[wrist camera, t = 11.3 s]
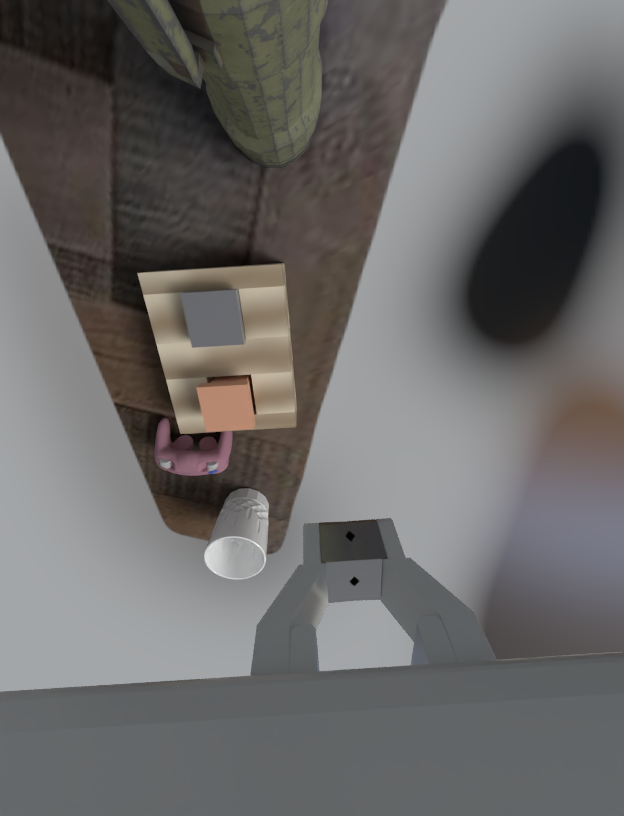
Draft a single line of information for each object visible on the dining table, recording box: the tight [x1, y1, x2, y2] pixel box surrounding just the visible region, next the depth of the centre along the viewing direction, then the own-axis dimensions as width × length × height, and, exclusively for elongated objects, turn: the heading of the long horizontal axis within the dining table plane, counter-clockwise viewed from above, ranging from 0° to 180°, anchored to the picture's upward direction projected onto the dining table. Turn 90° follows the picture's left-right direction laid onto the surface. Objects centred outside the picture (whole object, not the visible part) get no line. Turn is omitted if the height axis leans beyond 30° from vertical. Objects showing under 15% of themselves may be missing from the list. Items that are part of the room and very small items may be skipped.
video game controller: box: [155, 418, 232, 476], centre depth 43 cm, size 10×5×7 cm, turn 85°
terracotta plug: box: [196, 374, 255, 432], centre depth 37 cm, size 5×5×7 cm
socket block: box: [138, 263, 297, 434], centre depth 37 cm, size 18×14×5 cm
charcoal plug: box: [180, 289, 246, 348], centre depth 34 cm, size 5×5×7 cm
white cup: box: [204, 488, 269, 579], centre depth 46 cm, size 8×8×10 cm
